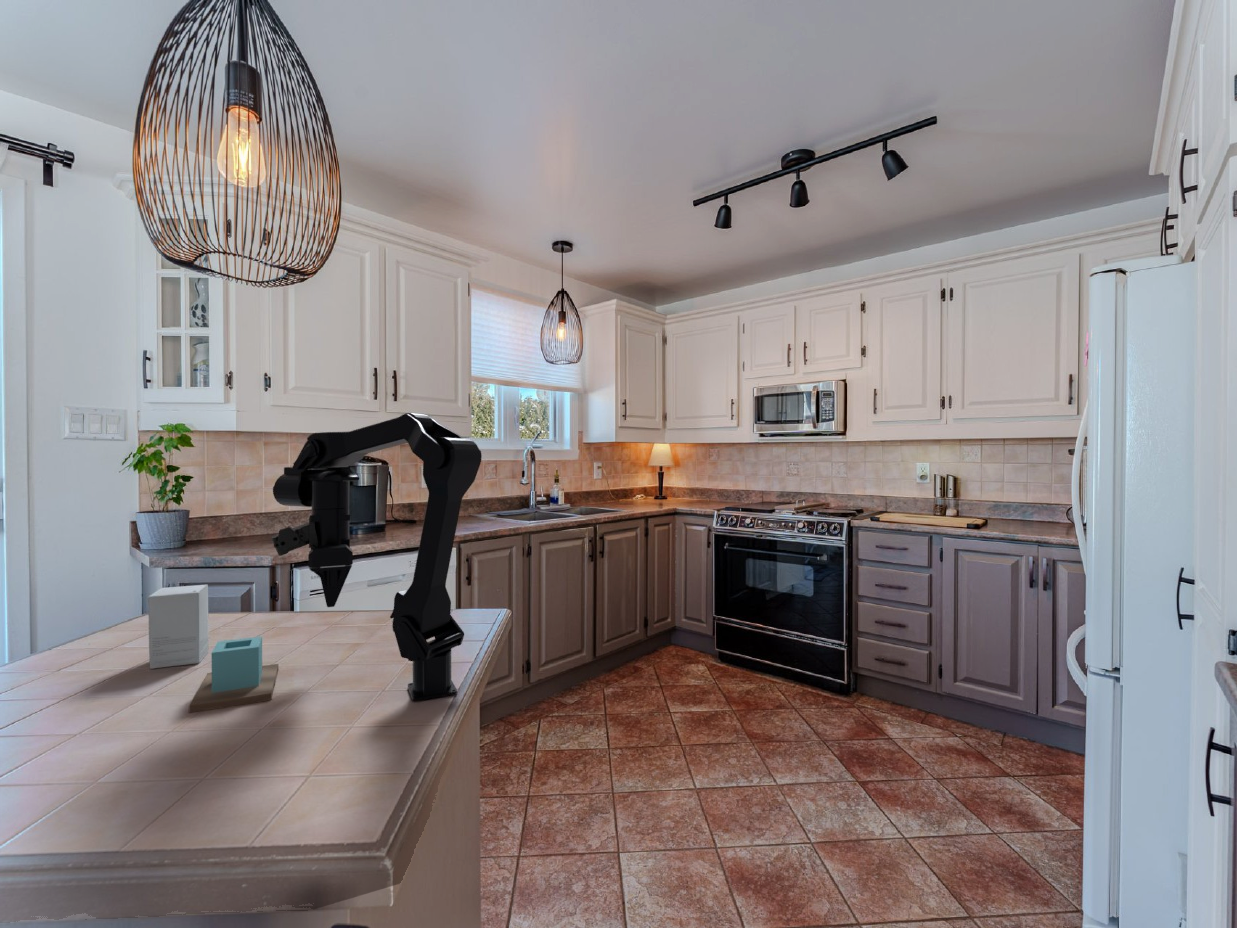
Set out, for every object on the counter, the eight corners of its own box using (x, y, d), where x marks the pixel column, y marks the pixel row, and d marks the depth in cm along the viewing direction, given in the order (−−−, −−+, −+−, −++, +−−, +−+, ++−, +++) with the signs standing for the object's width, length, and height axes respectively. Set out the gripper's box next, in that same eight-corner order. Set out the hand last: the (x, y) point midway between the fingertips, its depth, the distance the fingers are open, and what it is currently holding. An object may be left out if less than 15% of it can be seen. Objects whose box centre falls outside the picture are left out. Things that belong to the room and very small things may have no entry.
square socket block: (258, 685, 90) (258, 646, 90) (211, 692, 87) (211, 652, 87) (262, 673, 95) (262, 636, 95) (217, 679, 93) (217, 641, 93)
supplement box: (210, 651, 109) (210, 583, 109) (199, 664, 102) (199, 591, 102) (161, 656, 106) (161, 586, 106) (147, 669, 100) (146, 595, 100)
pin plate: (271, 699, 87) (271, 666, 87) (189, 712, 83) (189, 677, 83) (278, 669, 100) (278, 640, 100) (207, 679, 95) (207, 648, 95)
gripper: (279, 505, 104) (279, 593, 104) (270, 514, 87) (270, 619, 87) (349, 503, 108) (349, 587, 109) (352, 511, 92) (352, 611, 92)
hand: (330, 600), depth 99 cm, fingers open, 9 cm apart
